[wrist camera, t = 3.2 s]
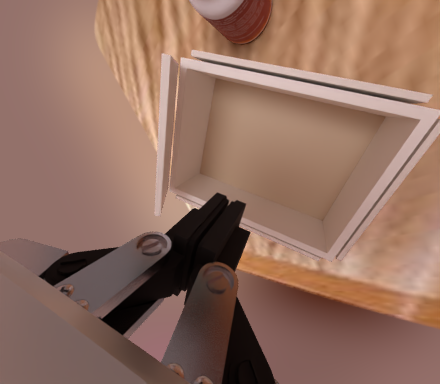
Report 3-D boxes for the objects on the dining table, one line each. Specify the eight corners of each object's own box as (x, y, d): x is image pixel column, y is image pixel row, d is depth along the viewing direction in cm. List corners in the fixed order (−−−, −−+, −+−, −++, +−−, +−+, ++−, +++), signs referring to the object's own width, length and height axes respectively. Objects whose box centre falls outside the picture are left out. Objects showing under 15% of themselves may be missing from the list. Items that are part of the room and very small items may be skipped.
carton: (412, 103, 18) (467, 100, 12) (328, 232, 27) (335, 270, 20) (214, 63, 24) (181, 47, 18) (195, 179, 32) (169, 195, 26)
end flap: (178, 63, 18) (170, 55, 13) (168, 187, 25) (160, 215, 20) (172, 61, 18) (161, 53, 13) (163, 187, 25) (154, 215, 20)
